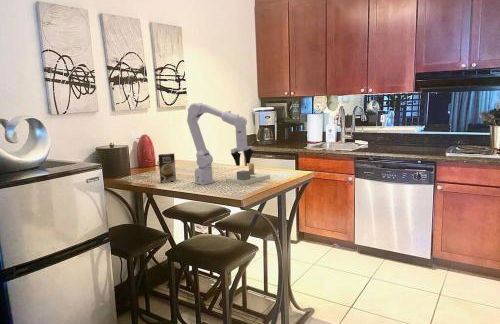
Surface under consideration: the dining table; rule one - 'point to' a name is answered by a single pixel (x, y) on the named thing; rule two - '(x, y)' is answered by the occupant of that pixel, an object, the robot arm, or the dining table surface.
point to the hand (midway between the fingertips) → (243, 164)
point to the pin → (251, 169)
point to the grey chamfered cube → (243, 175)
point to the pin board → (254, 178)
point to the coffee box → (167, 167)
